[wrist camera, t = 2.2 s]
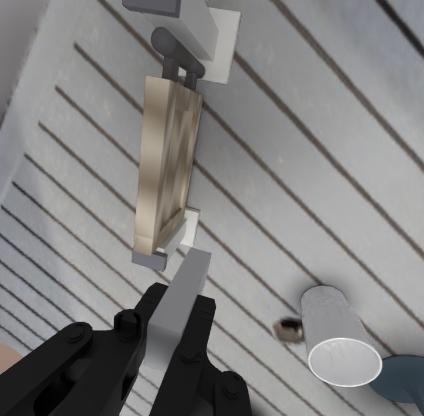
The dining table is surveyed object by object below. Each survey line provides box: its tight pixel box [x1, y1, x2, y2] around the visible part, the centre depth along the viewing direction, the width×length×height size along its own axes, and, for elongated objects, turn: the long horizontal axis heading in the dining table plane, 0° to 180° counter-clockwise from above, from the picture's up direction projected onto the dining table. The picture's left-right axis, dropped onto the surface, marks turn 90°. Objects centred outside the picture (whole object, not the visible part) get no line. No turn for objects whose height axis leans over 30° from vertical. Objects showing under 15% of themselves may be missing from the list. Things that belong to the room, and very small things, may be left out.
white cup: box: [301, 285, 382, 387], centre depth 31 cm, size 8×8×10 cm
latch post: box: [132, 207, 200, 272], centre depth 31 cm, size 6×6×11 cm
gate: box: [134, 27, 205, 256], centre depth 25 cm, size 20×2×11 cm, turn 169°
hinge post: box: [122, 0, 241, 85], centre depth 21 cm, size 7×7×15 cm
